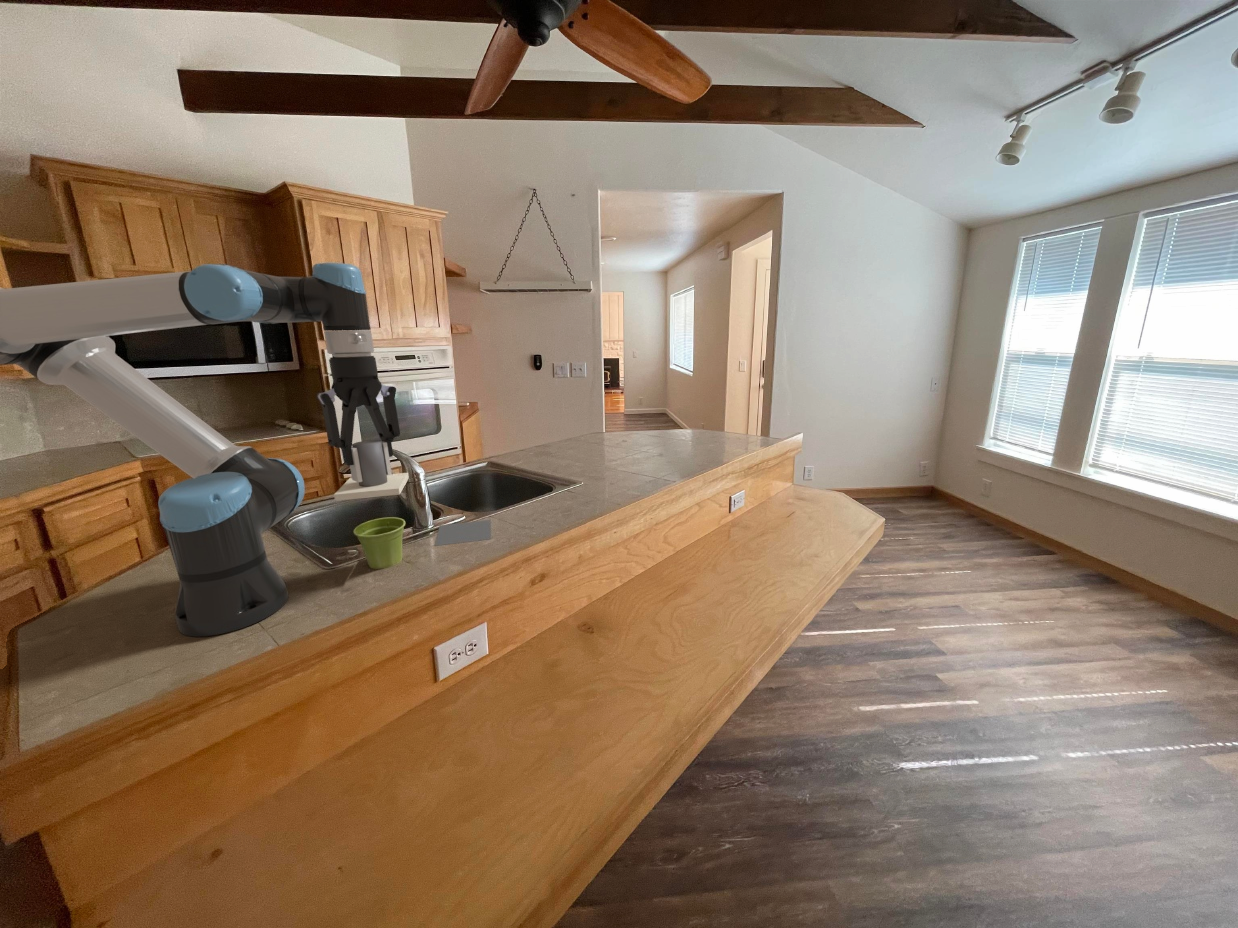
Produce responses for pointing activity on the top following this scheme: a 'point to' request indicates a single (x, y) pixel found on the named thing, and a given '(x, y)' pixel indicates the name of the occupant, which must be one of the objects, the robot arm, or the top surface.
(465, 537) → the charcoal mat
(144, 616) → the top surface
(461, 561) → the top surface
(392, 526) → the plant pot
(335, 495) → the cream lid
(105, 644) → the top surface
